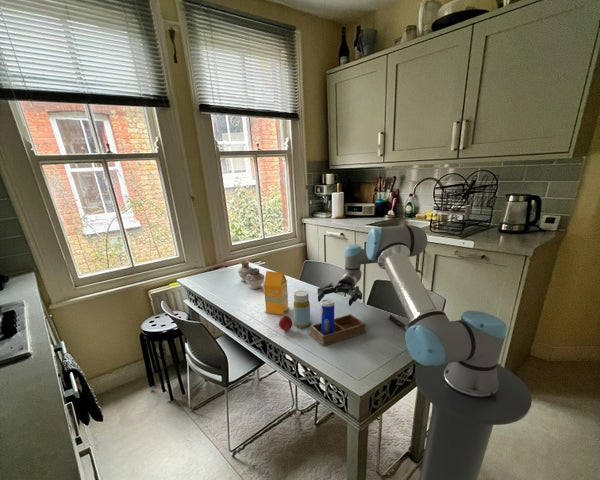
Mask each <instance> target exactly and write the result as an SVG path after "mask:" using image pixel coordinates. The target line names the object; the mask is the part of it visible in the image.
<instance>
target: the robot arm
mask: <svg viewBox="0 0 600 480" xmlns="http://www.w3.org/2000/svg"><path fill="white" fill-rule="evenodd" d="M427 246H428V236H427V233H426V232H425V230H424V229H422V228H421V227H420V226H417V225H414V224H413V225H412V224H406V225H391V226H379V227H374V228H371V229H370V230H369V232H368V234H367V237H366V244H365V248H362V246H361V245H359V244H349V245H347V246H346V247H345V253H344V275H342V276H341V278H340V279H339V281H338V282H337V284H334V283H333V282H330V283H329V284H325V285H323V286H321V287H318V288H317V302H318V303H320V302H322V301H323V298H324V297H325V296H326V295H330V294H338V293H343V294H346V295H348V296H350V298H349V299H348V307H352V305H353V304H354V303H355V302H357V300H360V301H361V300H363V293H362V291H361V289H360V286H359V285H357V284H358V282H359V281H361V279H362V274H363V272H362V270H361V267H362V266H361V265H370V264H377V265H378V267H379V268H380V269H381V270H382V269H383V270H385V272H386V274H387V276H388V279H389V280H390V283H391V285H392V287H393V289H394V292H395V293H396V296H397V297H398V300H399V302H400V304H401V306H402V308H403V310H404V312H405V315H406V317H407V319H408V321H409V322H408V323H407V325H406V326H407V330H405V334H404V340H405V342H406V343H405V346H406V349H407V352H408V353H409V355H410V356H411V358H412V359H413V360H414V361H415V362H416V363H418V364H422V365H424V366H430V365H435V366H438V365H441V364H446V363H449V364H448V365H447V367H446V368H445V371H444V375H443V378H444V381H445V383H446V384H447V385H448V386H449V387H450V388H451V389H452V390H454V391H456V392H457V393H459V394H462V395H464V396H467V397H471V398H479V399H484V398H490V397H493V398H494V400H495V399H497V397H496V396H495V394H496V393H497V391H498V387H499V381H498V375H497V368H496V367H497V364H498V363H499V360H500V357H501V352H502V349H503V346H504V342H505V339H506V338H507V337H506V334H507V324H506V323H505V322H504V321H503V319H500V318H499V317H497V316H495V315H493V314H491V313H488V312H483V311H480V310H466V311H463V313H462V314H461V315H460V319H457V320H451V321H450V319H449V317H448V316H447V314H446V313H445V311H443V310H440V309H437V307H436V305H435V304H434V301H433V299H432V298H431V296H430V294H429V292H428V291H427V289H426V287H425V285H424V284H423V282H422V279H421V277H420V276H419V274H418V272H417V271H416V268H415V267H414V265H413V263H412V261H411V259H410V258H412V257H415V256H418V255H420V254H422V253H423V252H424V251H425V250H426V248H427Z"/></svg>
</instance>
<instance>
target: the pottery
mask: <svg viewBox="0 0 600 480" xmlns="http://www.w3.org/2000/svg"><path fill="white" fill-rule="evenodd" d="M240 264H241V267H239V269H238V270H237V273H238V275H239V277H240V278H241V281H242V282H245V283H246V284H247V285H248V286H250V288H251V289H252V290H257V289H260V288H261V287H262V286H261V285H262V284H264V282H265V275H264V274H263V273H260V268H257V267H251V266H250V261H249V260H247V259H245V260H244V259H243V260H240Z"/></svg>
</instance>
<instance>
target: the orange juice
mask: <svg viewBox="0 0 600 480" xmlns="http://www.w3.org/2000/svg"><path fill="white" fill-rule="evenodd" d="M263 291H264V303H265V313H268V314H274V315H283V316H284V314H286V311H288V309H289V293H288V280H287V278H286V276H285V273H284V272H283V271H282V272H281V271H272V270H266V271H265V275H264V281H263Z"/></svg>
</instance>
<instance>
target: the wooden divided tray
mask: <svg viewBox="0 0 600 480" xmlns="http://www.w3.org/2000/svg"><path fill="white" fill-rule="evenodd" d="M365 333H366V323H365V322H364V321H361V319H358V318H357V317H355V316H354V315H353V314H346V315H343V316H339V317H336V318H334V333H331V334H328V335H323V334H322V322H318V323H315V324H311V325H310V335H311V336H312V337H313V338H314V339H315V340H316V341H318V343H319V344H321V345H322V346H323V347H324V346H328V345H330V344H333V343H337V342H339V341H343V340H347V339H350V338H353V337H356V336H359V335H362V334H365Z"/></svg>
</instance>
